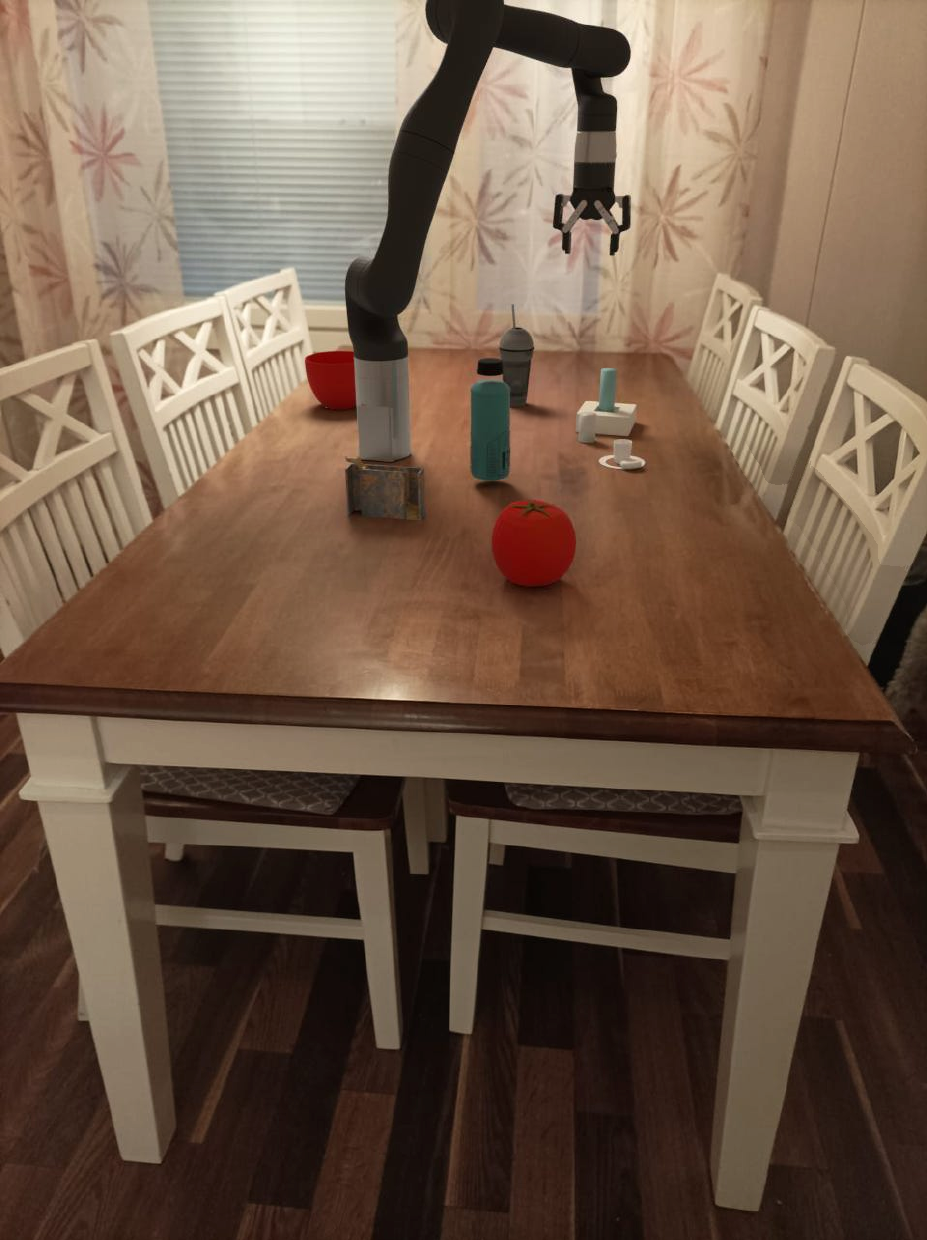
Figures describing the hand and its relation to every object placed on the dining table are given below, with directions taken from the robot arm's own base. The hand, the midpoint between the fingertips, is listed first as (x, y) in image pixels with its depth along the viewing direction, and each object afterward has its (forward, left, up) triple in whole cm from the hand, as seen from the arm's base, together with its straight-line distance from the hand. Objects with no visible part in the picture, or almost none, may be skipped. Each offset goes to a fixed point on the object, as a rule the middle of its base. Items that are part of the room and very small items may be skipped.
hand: (589, 254), depth 182 cm
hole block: (-10, -7, -30) cm, 32 cm away
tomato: (-83, -9, -30) cm, 89 cm away
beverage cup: (+2, +14, -30) cm, 34 cm away
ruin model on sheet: (-66, +18, -31) cm, 75 cm away
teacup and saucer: (-33, -11, -31) cm, 47 cm away
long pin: (-10, -6, -30) cm, 32 cm away
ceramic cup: (-9, +47, -30) cm, 57 cm away
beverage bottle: (-48, +6, -30) cm, 57 cm away
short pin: (-20, -5, -30) cm, 36 cm away
